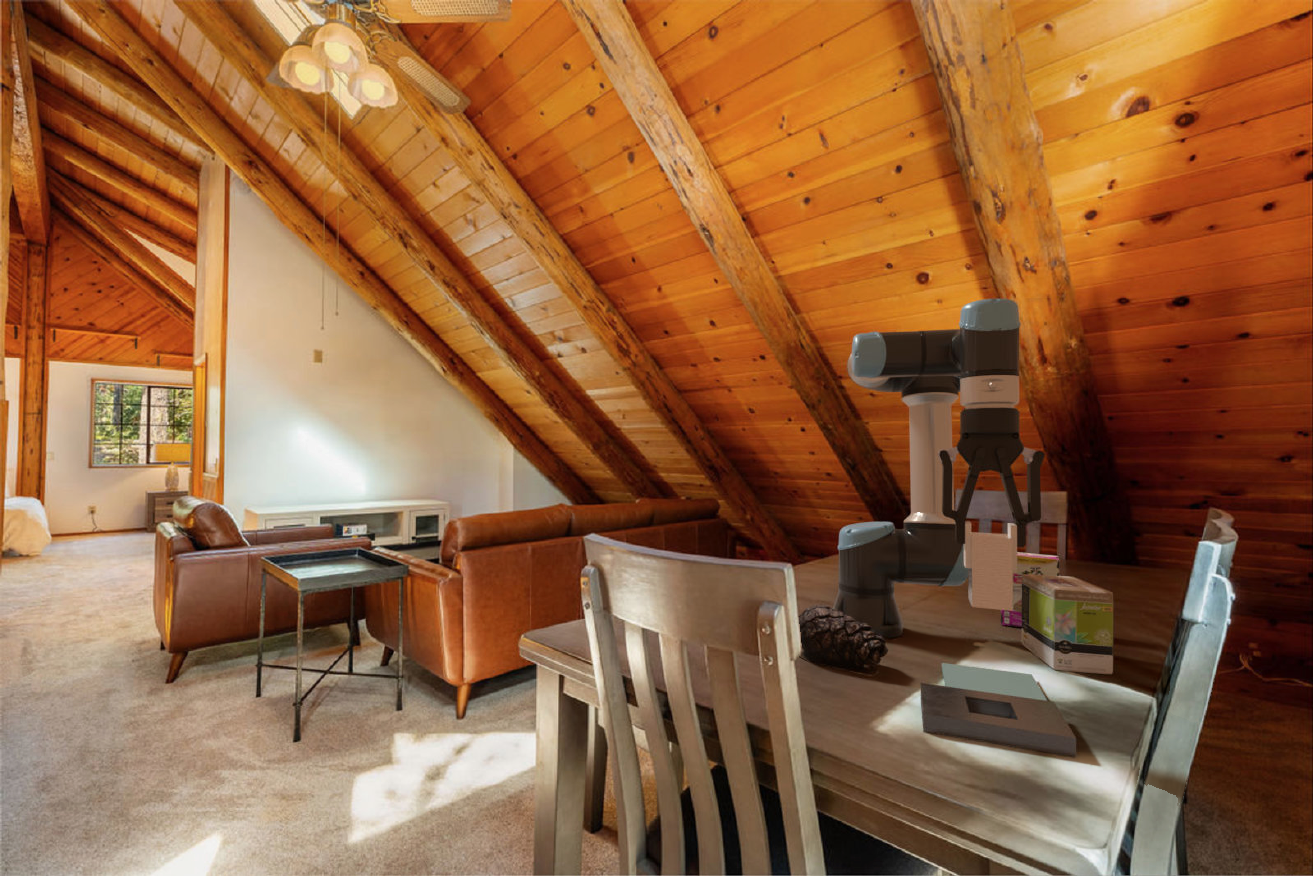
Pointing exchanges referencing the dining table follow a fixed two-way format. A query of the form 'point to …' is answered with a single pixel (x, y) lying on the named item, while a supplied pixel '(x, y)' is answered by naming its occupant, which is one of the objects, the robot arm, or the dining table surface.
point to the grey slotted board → (996, 719)
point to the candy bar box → (1025, 565)
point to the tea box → (1068, 623)
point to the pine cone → (840, 641)
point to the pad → (991, 681)
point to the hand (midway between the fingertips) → (989, 567)
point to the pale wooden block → (991, 571)
